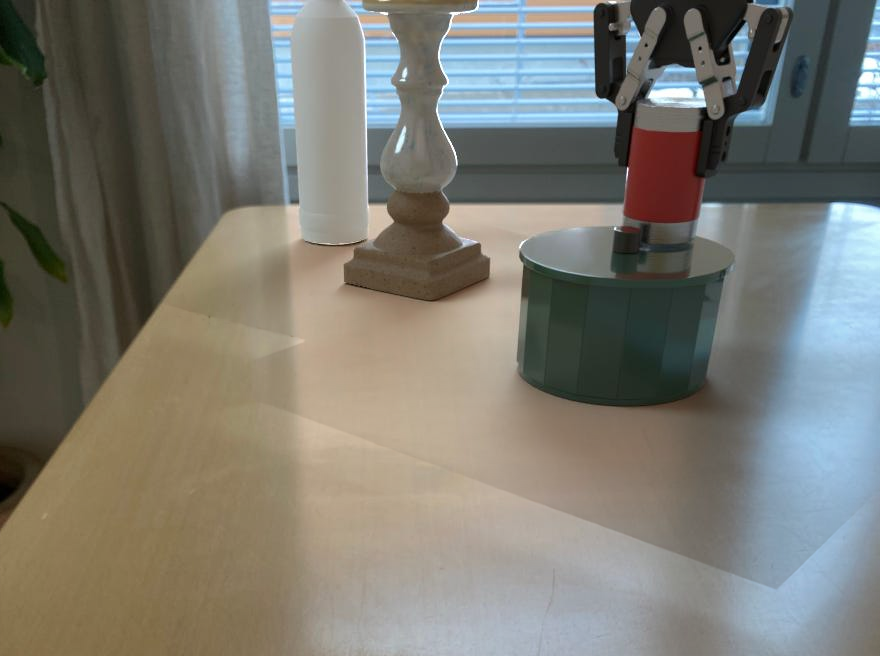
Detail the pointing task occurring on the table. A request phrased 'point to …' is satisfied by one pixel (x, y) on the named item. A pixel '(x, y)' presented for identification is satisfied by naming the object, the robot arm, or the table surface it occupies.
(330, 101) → the bottle
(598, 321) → the pot
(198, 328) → the table surface
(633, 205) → the can
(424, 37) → the candle holder
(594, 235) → the pot lid
